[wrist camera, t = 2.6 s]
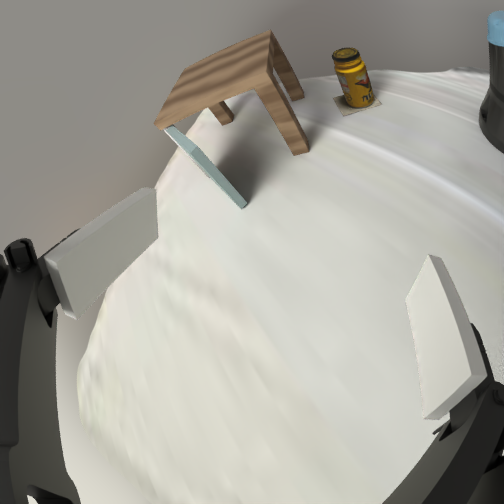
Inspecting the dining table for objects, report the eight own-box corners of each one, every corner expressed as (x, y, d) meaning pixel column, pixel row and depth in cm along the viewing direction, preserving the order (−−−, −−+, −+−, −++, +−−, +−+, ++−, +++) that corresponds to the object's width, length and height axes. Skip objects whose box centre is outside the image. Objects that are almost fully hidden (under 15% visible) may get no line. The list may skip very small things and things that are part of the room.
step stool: (224, 118, 68) (184, 68, 54) (303, 91, 58) (270, 29, 44) (208, 180, 58) (153, 123, 44) (309, 151, 49) (266, 71, 35)
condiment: (381, 104, 46) (368, 54, 36) (343, 116, 49) (324, 67, 39) (368, 88, 49) (353, 41, 40) (333, 99, 52) (314, 54, 43)
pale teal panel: (213, 169, 59) (170, 121, 47) (248, 202, 49) (198, 144, 38) (206, 175, 59) (162, 129, 47) (240, 210, 49) (188, 154, 38)
